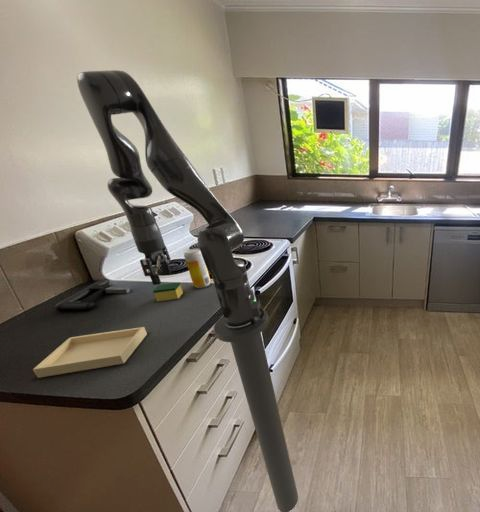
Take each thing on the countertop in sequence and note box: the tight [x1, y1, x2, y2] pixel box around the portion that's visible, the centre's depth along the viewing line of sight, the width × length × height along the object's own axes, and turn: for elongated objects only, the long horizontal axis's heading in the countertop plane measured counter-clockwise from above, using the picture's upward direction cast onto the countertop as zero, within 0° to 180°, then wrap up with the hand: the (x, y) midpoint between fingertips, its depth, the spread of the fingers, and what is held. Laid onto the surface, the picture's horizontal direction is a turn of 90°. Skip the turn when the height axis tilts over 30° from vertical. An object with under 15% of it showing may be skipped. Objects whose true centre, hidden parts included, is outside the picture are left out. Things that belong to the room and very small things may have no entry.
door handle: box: [54, 278, 131, 312], centre depth 108 cm, size 3×20×16 cm
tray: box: [32, 326, 148, 379], centre depth 79 cm, size 19×13×3 cm
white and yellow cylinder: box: [183, 247, 212, 289], centre depth 113 cm, size 6×6×15 cm
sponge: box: [152, 282, 184, 302], centre depth 107 cm, size 7×5×4 cm, turn 104°
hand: (162, 278), depth 104 cm, fingers open, 8 cm apart
